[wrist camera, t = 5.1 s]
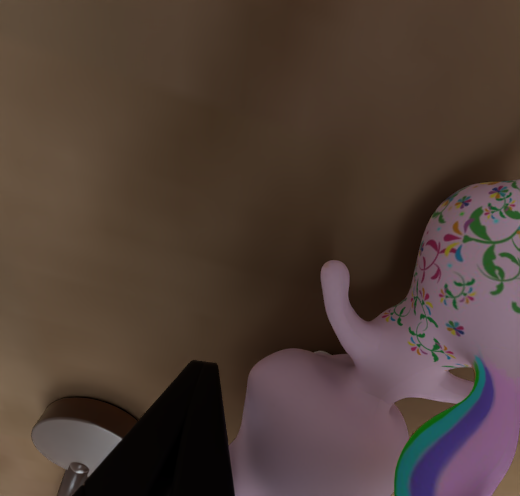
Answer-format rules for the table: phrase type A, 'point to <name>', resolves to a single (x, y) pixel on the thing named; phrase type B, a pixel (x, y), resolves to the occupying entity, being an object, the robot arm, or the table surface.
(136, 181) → the table surface
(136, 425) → the robot arm
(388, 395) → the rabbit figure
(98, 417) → the spoon
